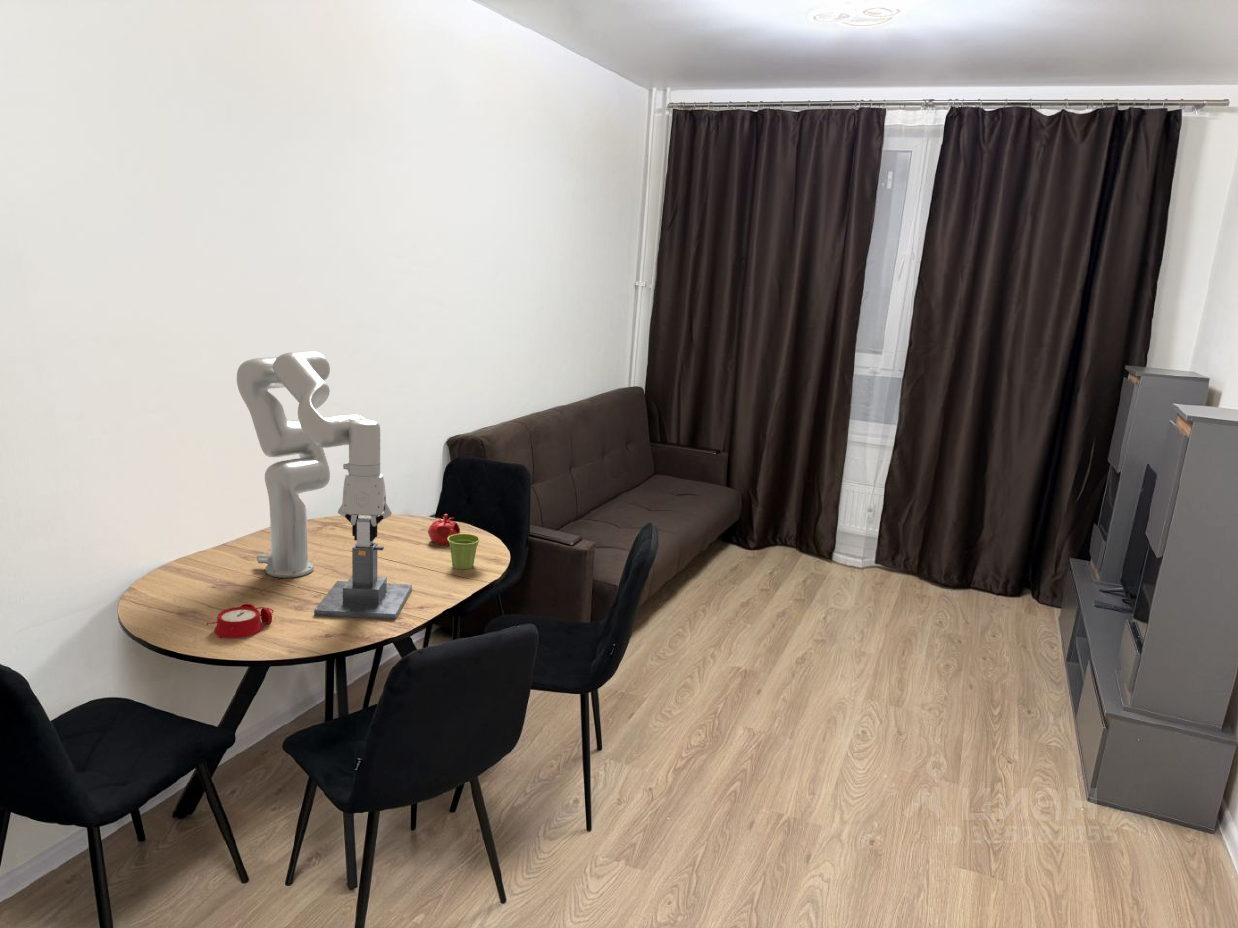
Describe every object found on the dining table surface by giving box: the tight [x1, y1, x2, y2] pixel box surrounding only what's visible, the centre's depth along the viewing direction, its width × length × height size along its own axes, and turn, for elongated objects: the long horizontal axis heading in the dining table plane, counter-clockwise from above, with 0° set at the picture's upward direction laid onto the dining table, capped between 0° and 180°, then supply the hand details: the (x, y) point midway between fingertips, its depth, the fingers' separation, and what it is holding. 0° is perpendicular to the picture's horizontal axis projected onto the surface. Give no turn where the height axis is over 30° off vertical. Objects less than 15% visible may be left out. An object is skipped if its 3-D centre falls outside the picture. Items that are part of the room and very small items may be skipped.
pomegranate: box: [427, 513, 461, 546], centre depth 272 cm, size 10×10×9 cm
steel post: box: [356, 515, 374, 548], centre depth 220 cm, size 3×3×17 cm
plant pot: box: [448, 533, 481, 570], centre depth 252 cm, size 9×9×9 cm
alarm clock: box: [206, 603, 275, 639], centre depth 204 cm, size 10×6×15 cm
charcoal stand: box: [313, 542, 413, 620], centre depth 221 cm, size 20×20×16 cm
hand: (364, 538), depth 219 cm, fingers closed on steel post, 3 cm apart
